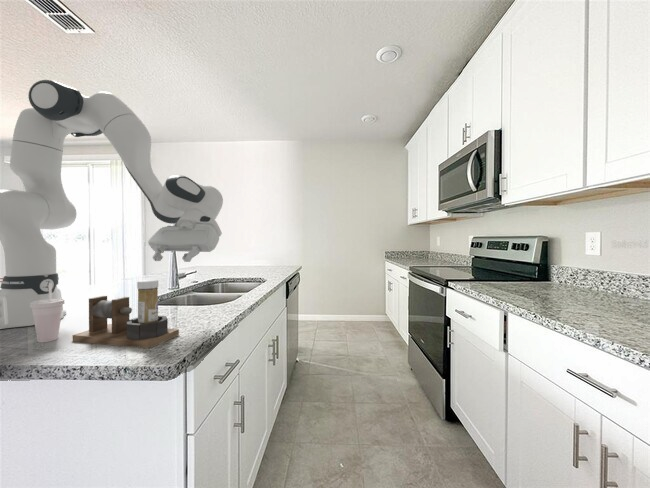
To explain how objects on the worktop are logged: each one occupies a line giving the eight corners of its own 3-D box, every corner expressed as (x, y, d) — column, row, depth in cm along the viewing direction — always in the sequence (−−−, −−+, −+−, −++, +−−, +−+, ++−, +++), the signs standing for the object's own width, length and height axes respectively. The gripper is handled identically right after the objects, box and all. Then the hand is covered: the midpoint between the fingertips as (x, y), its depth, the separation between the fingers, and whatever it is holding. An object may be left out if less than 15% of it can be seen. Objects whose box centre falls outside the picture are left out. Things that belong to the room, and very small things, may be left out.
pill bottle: (159, 334, 75) (158, 280, 74) (137, 337, 72) (137, 281, 72) (158, 329, 79) (157, 278, 78) (137, 332, 76) (137, 279, 76)
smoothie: (71, 337, 77) (70, 282, 77) (40, 345, 71) (39, 286, 71) (54, 334, 79) (54, 281, 79) (23, 342, 73) (23, 284, 73)
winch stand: (72, 341, 74) (72, 300, 74) (109, 329, 84) (109, 293, 84) (149, 348, 69) (148, 305, 69) (178, 335, 79) (178, 297, 79)
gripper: (158, 218, 93) (132, 251, 83) (218, 218, 88) (197, 252, 79) (169, 233, 97) (145, 266, 88) (226, 233, 93) (208, 268, 83)
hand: (170, 260), depth 83 cm, fingers open, 8 cm apart
